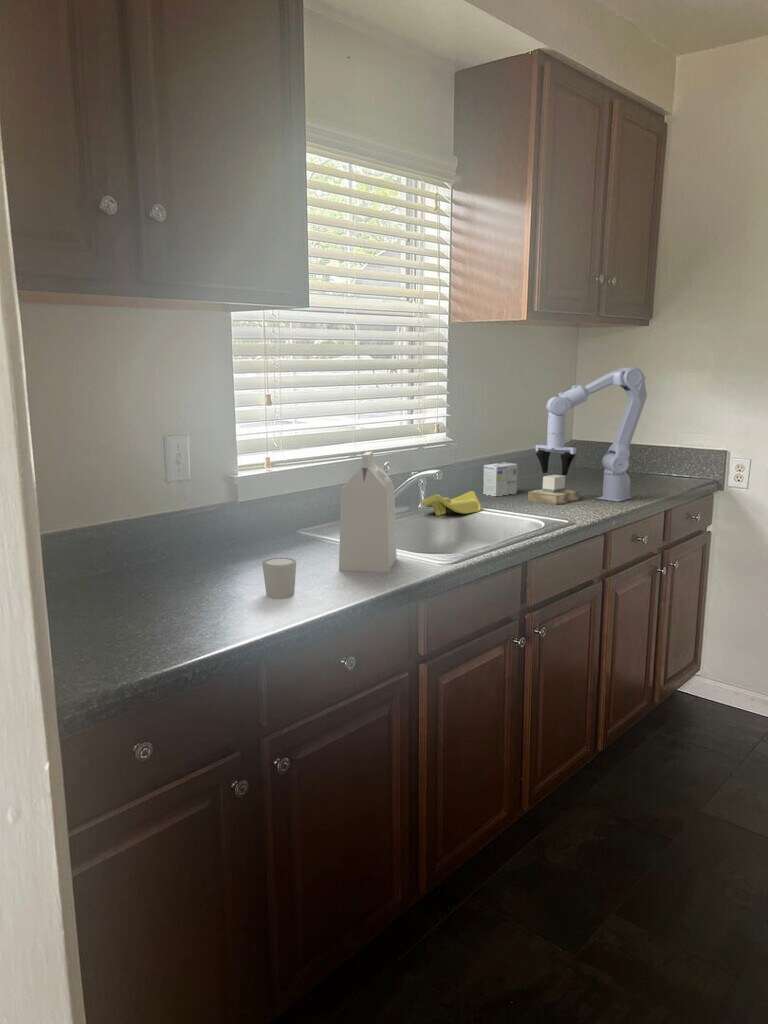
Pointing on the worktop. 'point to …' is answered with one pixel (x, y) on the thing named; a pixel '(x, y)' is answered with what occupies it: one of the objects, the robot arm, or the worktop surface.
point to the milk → (368, 520)
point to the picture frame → (553, 496)
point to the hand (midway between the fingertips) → (554, 473)
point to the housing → (553, 483)
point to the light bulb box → (500, 479)
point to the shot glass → (279, 577)
